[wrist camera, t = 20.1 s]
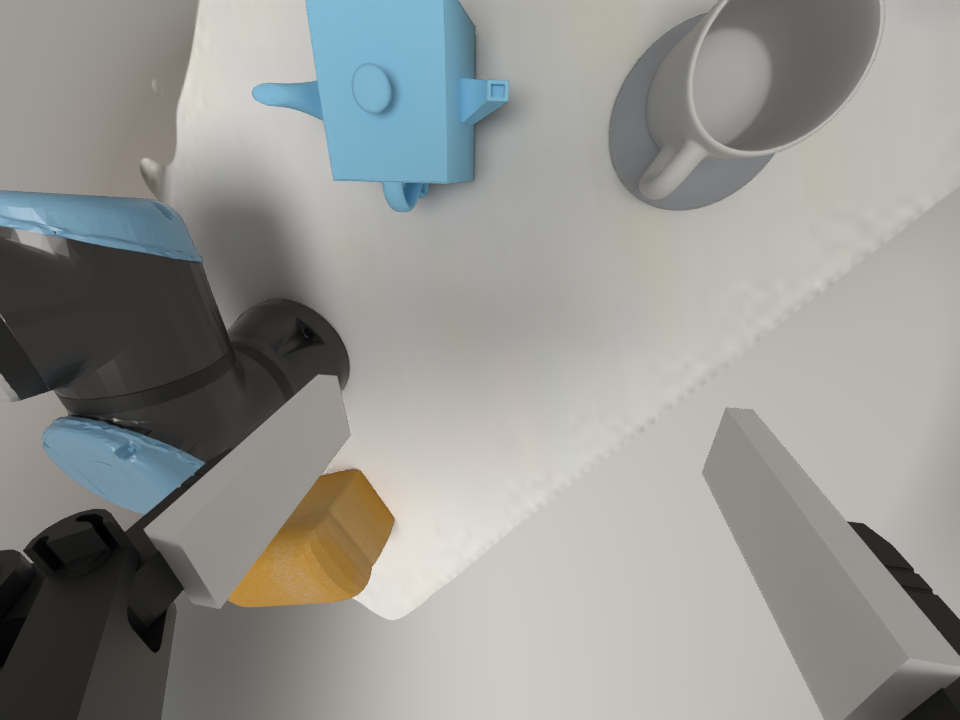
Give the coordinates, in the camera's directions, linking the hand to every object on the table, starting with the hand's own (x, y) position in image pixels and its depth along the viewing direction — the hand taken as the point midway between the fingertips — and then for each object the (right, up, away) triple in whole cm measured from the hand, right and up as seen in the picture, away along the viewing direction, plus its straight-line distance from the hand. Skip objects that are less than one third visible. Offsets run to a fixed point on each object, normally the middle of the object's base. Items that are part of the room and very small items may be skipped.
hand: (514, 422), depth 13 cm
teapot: (-6, +25, +20) cm, 32 cm away
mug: (+15, +21, +16) cm, 30 cm away
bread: (-28, -23, +51) cm, 62 cm away
